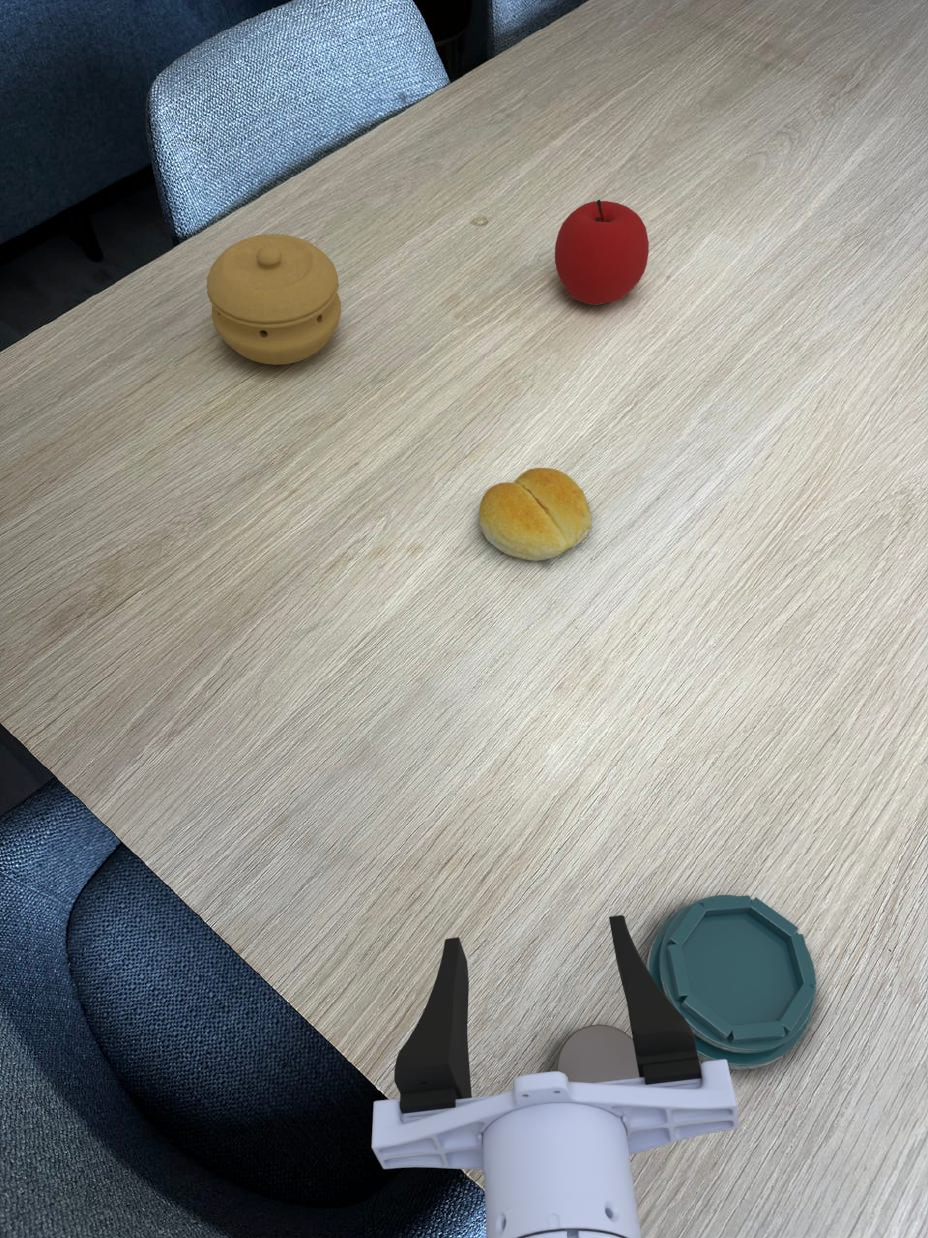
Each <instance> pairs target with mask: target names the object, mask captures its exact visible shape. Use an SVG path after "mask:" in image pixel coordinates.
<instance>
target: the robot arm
mask: <svg viewBox="0 0 928 1238" xmlns="http://www.w3.org/2000/svg"><path fill="white" fill-rule="evenodd" d="M608 920H609V926H610V933H611V939H612V944H613V949H614V955H615V960H616V965H617V969H618V974H619V978H620V981H621V985H622V989H623V992H624V998H625V1000H626V1001H625V1002H626V1006H627V1012H628V1018H629V1025H630V1032H631V1038H632V1039H633V1043H634V1049H635V1055H636V1061H637V1067H638V1072H639V1078H632V1079H624V1080H616V1081H607V1082H599V1083H582V1082H569V1081H568V1077H567V1076H566V1075H565V1074H564V1073H562V1072H559V1071H553V1070H552V1071H544V1072H536V1073H535V1072H534V1073H528V1074H527V1073H526V1074H522V1075H518V1076H517V1077H515V1078H514V1079H513V1083H512V1085H513V1087H512V1089H508V1090H506V1091H503V1092H500V1093H496V1094H491V1095H482V1096H473V1093H472V1082H471V1081H472V1079H471V1069H470V1068H471V1067H470V1054H469V1038H468V1020H469V995H470V994H469V992H470V990H469V989H470V985H469V984H470V981H469V979H470V978H469V968H468V966H469V965H468V960H467V957H466V954H465V951H464V948H463V944H462V941H461V938H460V937H459V936H457V937H450V938H446V939H444V943H443V950H442V955H441V959H440V963H439V967H438V970H437V974H436V977H435V979H434V980H435V981H434V983H433V987H432V988H431V992H430V994H429V998H428V1000H427V1002H426V1004H425V1007H424V1009H423V1011H422V1014H421V1015H420V1017H419V1019H418V1021H417V1023H416V1025H415V1027H414V1029H413V1030H412V1032H411V1034H409V1037H408V1039H407V1040H406V1041H405V1043H404V1045H403V1046H402V1047H401V1049H400V1050H399V1051H398V1053H397V1057H396V1060H395V1064H394V1071H393V1072H394V1073H393V1081H394V1083H395V1086H396V1088H397V1090H398V1093H399V1099H397V1098H391V1099H384V1100H383V1099H380V1100H375V1101H373V1108H372V1109H373V1111H372V1133H371V1149H372V1151H373V1153H374V1155H375V1157H376V1159H377V1160H378V1162H379V1164H380V1165H381V1167H382V1169H383V1170H391V1169H402V1168H436V1169H453V1170H454V1169H456V1170H472V1171H473V1170H474V1171H483V1178H484V1179H483V1180H484V1205H485V1209H484V1210H485V1234H486V1235H485V1236H486V1237H485V1238H642V1233H641V1226H640V1219H639V1212H638V1211H639V1210H638V1204H637V1197H636V1191H635V1184H634V1183H635V1182H634V1176H633V1170H632V1169H633V1168H632V1164H631V1156H633V1155H637V1154H640V1153H643V1152H647V1151H651V1150H654V1149H658V1148H661V1147H665V1146H667V1145H670V1144H675V1143H678V1142H682V1141H684V1140H689V1139H692V1138H696V1137H701V1136H704V1135H709V1134H713V1133H720V1132H726V1131H732V1130H733V1131H735V1130H738V1129H739V1127H740V1125H739V1109H738V1103H737V1098H736V1093H735V1089H734V1085H733V1079H732V1076H731V1071H730V1069H729V1067H728V1063H727V1060H726V1059H721V1060H713V1061H706V1062H701V1063H700V1060H699V1059H698V1054H697V1049H696V1040H695V1036H694V1034H693V1031H692V1029H691V1028H690V1026H689V1024H688V1022H687V1021H686V1019H685V1017H684V1016H683V1015H682V1014H681V1013H680V1012H679V1011H678V1010H677V1009H676V1008H675V1006H674V1005H673V1004H672V1003H671V1002H670V1001H669V999H668V998H667V997H666V995H665V994H664V993H663V992H662V990H661V989H660V988H659V986H658V985H657V983H656V982H655V980H654V979H653V977H652V976H651V974H650V973H649V971H648V969H647V968H646V964H645V963H644V961H643V959H642V957H641V955H640V953H639V951H638V949H637V947H636V945H635V943H634V940H633V938H632V936H631V933H630V931H629V927H628V924H627V921H626V917H625V916H624V915H623V914H618V915H612V916H609V917H608Z"/></svg>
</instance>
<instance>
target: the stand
mask: <svg viewBox="0 0 928 1238" xmlns="http://www.w3.org/2000/svg"><path fill="white" fill-rule="evenodd" d="M798 931H799V927H798V926H797V925H795V924H794V923H793V922H791V921H790V920H788V919H787V918H785V917H784V916H783V915H782V914H780V913H779V912H777V910H775V909H773V908H772V907H770V906H769V905H767V904H766V903H765V902H763V901H762V900H761V899H759V898H758V897H754V899H753V898H751V896H750V895H748V894H746V895H733V894H718V895H711V896H707V897H704V898H701V899H698V900H697V901H694V902H692V903H691V904H688V905H686V906H683V907H682V908H681V909H679V910H678V911H676V912H675V913H673V914H672V915H671V916H670V917H669V918H668V919H667V920H665V922H664V924H662V925H661V927H660V929H659V930H658V932H657V933H656V936H655V937H654V939H653V941H652V944H651V945H650V948H649V951H648V955H647V957H646V964H645V966H646V968H647V969H648V971H649V973H650V974H651V976H652V977H653V979H654V980H655V982H656V983H657V985H658V986H659V988H660V989H661V990H662V992H663V993H664V994H665V995H666V997H667V998H668V999H669V1001H670V1002H671V1003H672V1004H673V1005H674V1006H675V1008H676V1009H677V1010H678V1011H679V1012H680V1013H681V1014H682V1015H683V1016H684V1017H685V1019H686V1021H687V1022H688V1024H689V1026H690V1028H691V1029H692V1031H693V1034H694V1036H695V1040H696V1049H697V1054H698V1060H699V1062H700V1061H701V1063H703V1062H706V1061H713V1060H721V1059H726V1060H727V1063H728V1067H729V1071H730V1070H732V1071H748V1070H754V1069H760V1068H762V1067H765V1066H768V1065H771V1064H772V1063H774V1062H777V1061H778V1060H779V1059H780V1058H782V1057H783V1056H785V1055H786V1054H787V1053H788V1052H790V1050H792V1049H793V1048H794V1047H795V1046H796V1045H797V1044H798V1043H799V1041H800V1040H801V1039H802V1037H803V1036H804V1034H805V1032H806V1030H807V1028H808V1027H809V1024H810V1021H811V1017H812V1015H813V1009H814V1005H815V1000H816V994H817V984H818V983H817V979H816V978H817V977H816V972H815V971H816V970H815V966H814V963H813V959H812V958H811V957H812V956H811V954H810V951H809V949H808V946H807V945H806V941H805V937H804V934H803V933H798Z"/></svg>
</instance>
